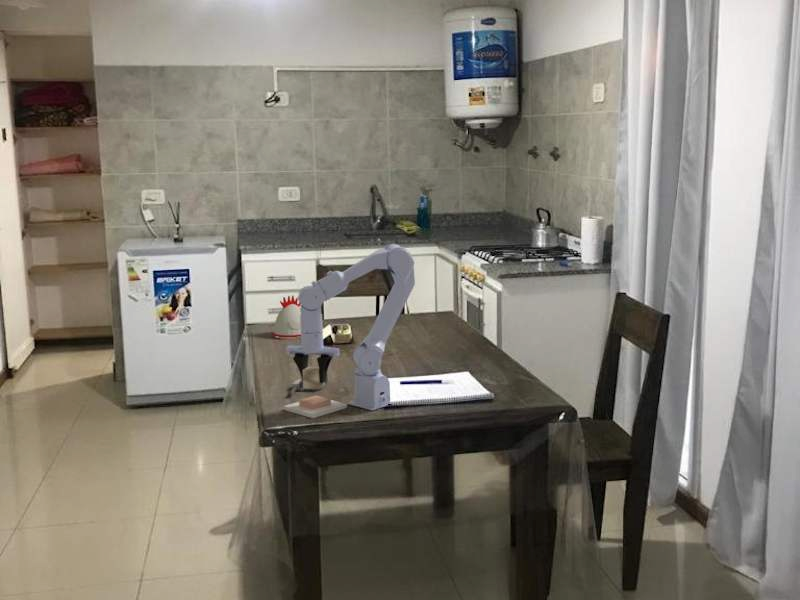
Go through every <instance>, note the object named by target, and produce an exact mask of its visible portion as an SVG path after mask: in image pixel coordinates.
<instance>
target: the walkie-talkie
mask: <svg viewBox="0 0 800 600" xmlns="http://www.w3.org/2000/svg"><path fill="white" fill-rule="evenodd" d="M327 383H328V373H327V374H326V379H325V385H327ZM324 388H325V386H323V387H322V388H320V389H303V381H302V378H299V379H295V380H294V382H293V383H292V384H291V390H290V391H289V393H288V396H293V395H294V393H296V391H300V392H304V391H305V392H307V391H308V392H309V391H311V392H312V391H313V392H314V391H315V392H316V391H317V392H320V391H322V390H323V389H324Z"/></svg>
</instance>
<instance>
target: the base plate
mask: <svg viewBox="0 0 800 600" xmlns="http://www.w3.org/2000/svg"><path fill="white" fill-rule="evenodd" d="M282 408H283V411H287V412H291V413H294V414H297V415H301V416H303V417H307V418H311V419H314V418H315V419H316V418H318V417H321V416H325V415H327V414H332V413H335V412H338V411H341V410H345V409H347V408H348V403H343V402H340V401H336V400H333V399H331V398H327V397H324V396H319V395H313V396H309V397H306V398H301V399H299V400H298V401H297V402H293V403H290V404H287V405H283V407H282Z"/></svg>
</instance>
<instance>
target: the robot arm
mask: <svg viewBox="0 0 800 600" xmlns="http://www.w3.org/2000/svg"><path fill="white" fill-rule="evenodd" d="M414 267H415V260H414V258H413V256H412V253H411V252H410V251H409V249H407V248H405V247H403V246H401V245H399V244H397V243H390V244H387V245H386V246H384V247H381V248H379V249H377V250H375V251H373V252H372V253H370V254H369V255H368V256H367V255H366V257H364V258H363V259H361V260H359V261H358V262H356V263H355V264H353V265H351V266H350V267H349V268H346V269H345V270H344V271H339V270H334V271H332V270H329V271H328V272H326V275H325V276H324V277H322V278H320V279H318V280H317V281H315V280H313V281H312V282H311V285H306V286H303V287H302V288H301V289H300V290H299V292H298V295H297V298H298V303H299V302H300V303H301V305H300V312H301V315H300V321H301V339H300V340H301V345H289V346H287V347H285V351H286V353H285V354H286V355H294V356H293V357H292V359H293V363H295V365H296V366H297V369H298V371H299V373H300V376H301V379H302V381H303V370H304V369H305V368H307V367H309V356H319V357H317V358H316V361H317V365H318V367H319V377H320V383H323V382H325V379H326V374H327V375H328V370H329V366H330V364H331V362H332V359H333V358H338V357H339V356H340V348H339V347H331V346H324V333H323V331H324V330H323V314H322V305H323V303H324V301H325V302H327V301H329V300H330V299H332V298H334V297H335V296H337V295H339V294H341V293H343V292H344V291H346V290H347V289H348V286H349V283H350V282H352V281H354V280H357V279H358V278H360V277H363V276H364V275H366V274H368V273H370V272H372V271H374V270H388V269H389V271H390V275H391V276H392V278H393V281H394V283H393V285H392V286H391V289H390V292H389V293H388V295H387V297H386V299H385V302H384V303H383V305H382V307H381V309H380V311H379V312H378V315H377V317H376V319H375V321H374V323H373V325H372V326H371V328H370V331H369V333H368V334H367V335H366V336H365V337H364V338H363V339H362V342H361V343H360V344H359V345H358V346H356V347H355V348H354V350H353V352H352V360H353V362H354V363H355V365H356V366H355V369H354V370H353V381H354V382H353V383H354V384H353V385H354V400H351V401H349V402H348V403H347V405H350V406H354V407H357V408H361V409H365V410H368V411H375V410H377V409H381V408H384V407H388V406H389V405H388V404H389V403H390V402H391V387H390V385H391V384H390V383H391V382H390V380H389V377H388V376H386V375H384V374H383V373H382V371H381V367H382V357H383V355H384V354H385V348H386V343H387V340H388V339H389V337H390V335H391V332H392V331H393V329H394V328H395V327H394V326H395V324H396V322H397V321H398V318H399V317H400V315H401V313H402V311H403V309H404V307H405V305H406V303H407V301H408V299H409V297H410V295H411V293H412V291H413V289H414V287H415V284H416V280H415V279H416V277H415V268H414Z"/></svg>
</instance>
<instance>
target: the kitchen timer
mask: <svg viewBox="0 0 800 600" xmlns="http://www.w3.org/2000/svg"><path fill="white" fill-rule="evenodd" d="M282 300H283V301H281V300H279V303H280V305H281V307H282V309H281V310H280V311H279V312H278V314H277V316H276V319H275V323H274V327H273V336H274V335H275V336H279V337H297V336H301V321H300V315H301V312H300V308H301V305H302V304H301V303H300V302H299V300H298V297H296V298H295V296H294V295H291V297H290V295H288V297H287V300H286V297H285V296H283V299H282Z"/></svg>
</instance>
